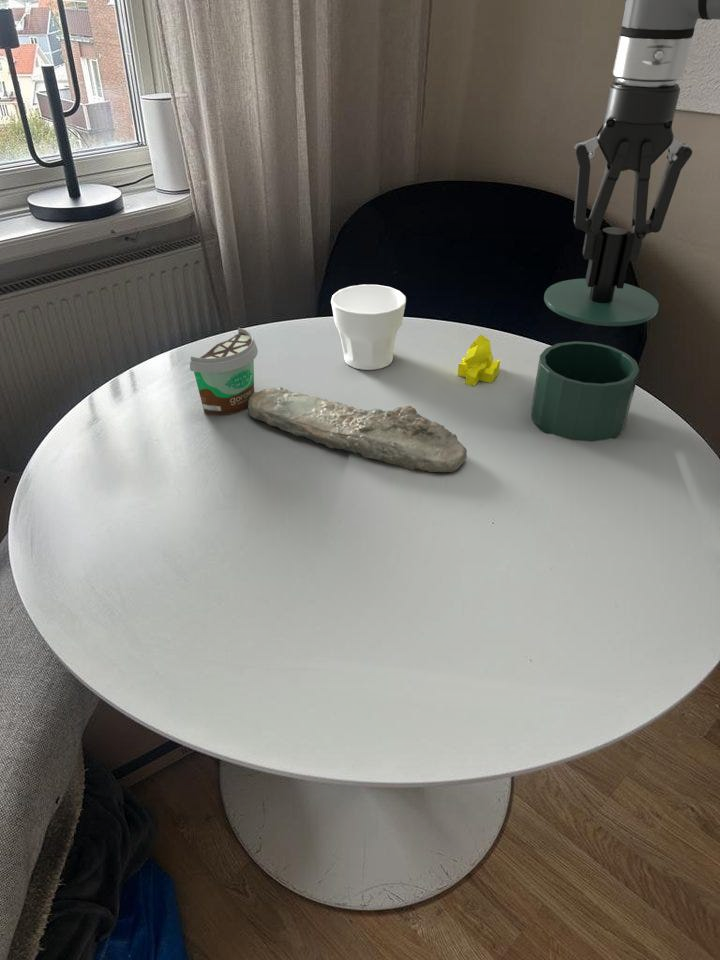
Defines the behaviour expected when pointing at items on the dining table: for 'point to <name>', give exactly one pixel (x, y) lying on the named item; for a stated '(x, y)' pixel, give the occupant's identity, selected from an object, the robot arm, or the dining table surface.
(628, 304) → the pot lid
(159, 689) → the dining table surface
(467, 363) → the yellow faceted cluster
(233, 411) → the food container
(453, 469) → the elongated rock
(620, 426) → the pot
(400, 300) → the cup
